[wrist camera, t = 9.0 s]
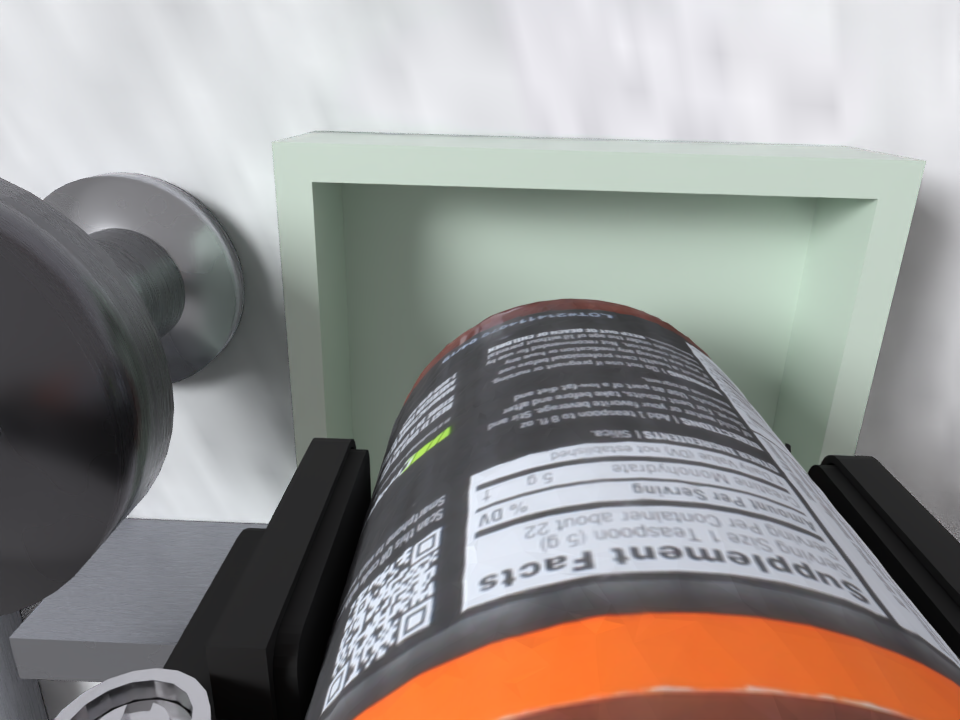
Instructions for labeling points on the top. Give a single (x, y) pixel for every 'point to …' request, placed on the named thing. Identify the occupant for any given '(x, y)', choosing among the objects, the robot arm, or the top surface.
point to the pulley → (97, 359)
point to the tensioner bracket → (113, 610)
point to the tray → (588, 263)
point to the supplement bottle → (611, 549)
